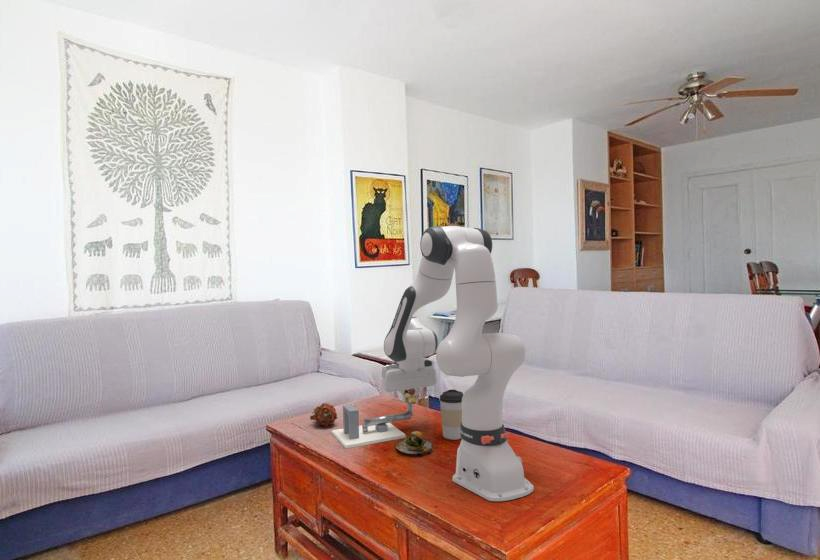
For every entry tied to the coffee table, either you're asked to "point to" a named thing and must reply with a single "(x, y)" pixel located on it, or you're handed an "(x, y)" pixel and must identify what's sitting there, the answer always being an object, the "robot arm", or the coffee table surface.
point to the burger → (415, 444)
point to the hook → (392, 417)
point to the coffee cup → (451, 413)
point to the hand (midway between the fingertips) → (409, 401)
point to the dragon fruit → (324, 415)
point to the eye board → (355, 436)
